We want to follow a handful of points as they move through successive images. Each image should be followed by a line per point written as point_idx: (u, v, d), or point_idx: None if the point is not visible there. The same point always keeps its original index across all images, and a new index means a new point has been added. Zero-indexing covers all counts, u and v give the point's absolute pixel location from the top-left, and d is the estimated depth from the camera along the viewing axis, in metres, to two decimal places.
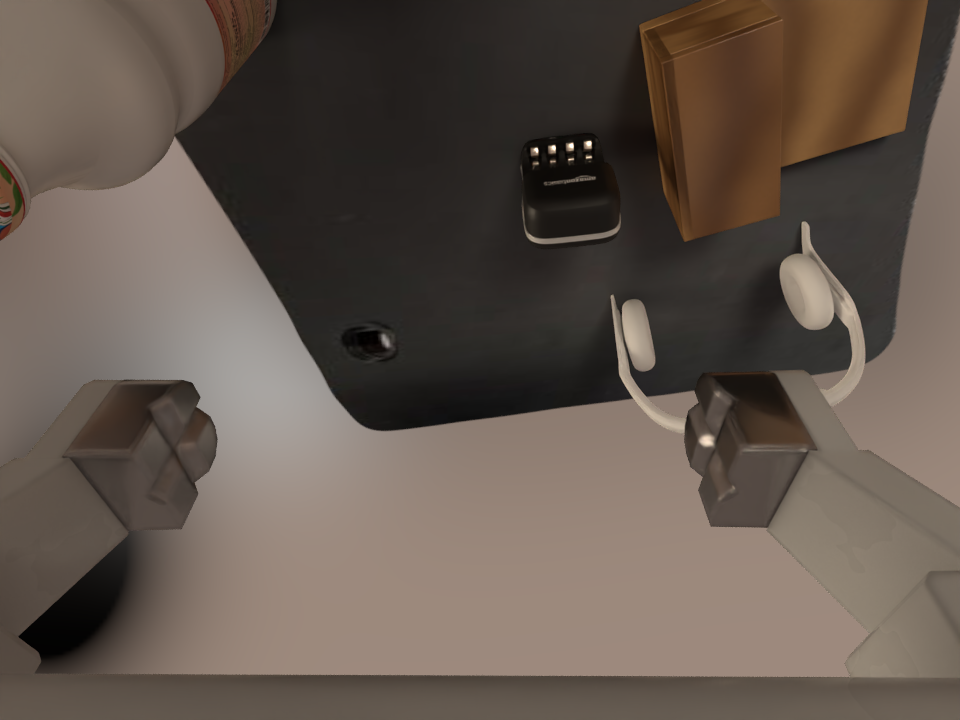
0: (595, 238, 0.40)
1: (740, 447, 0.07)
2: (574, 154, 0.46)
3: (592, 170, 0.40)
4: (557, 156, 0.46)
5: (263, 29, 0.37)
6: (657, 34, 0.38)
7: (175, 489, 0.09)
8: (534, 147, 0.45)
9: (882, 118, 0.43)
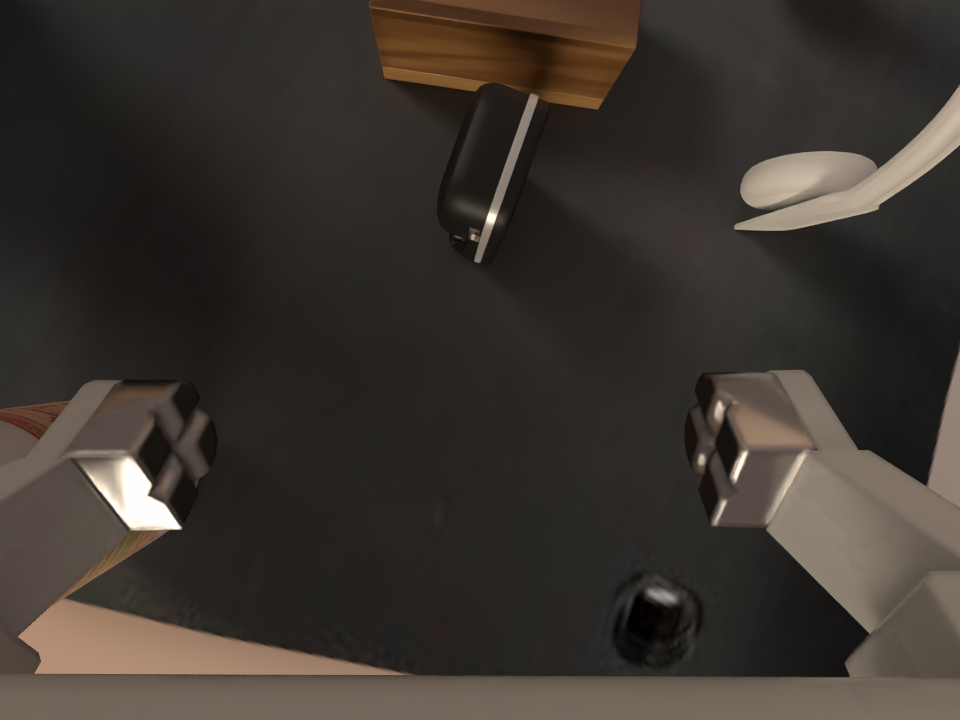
0: (529, 125, 0.25)
1: (739, 446, 0.07)
2: None
3: None
4: None
5: None
6: None
7: (175, 489, 0.09)
8: None
9: None
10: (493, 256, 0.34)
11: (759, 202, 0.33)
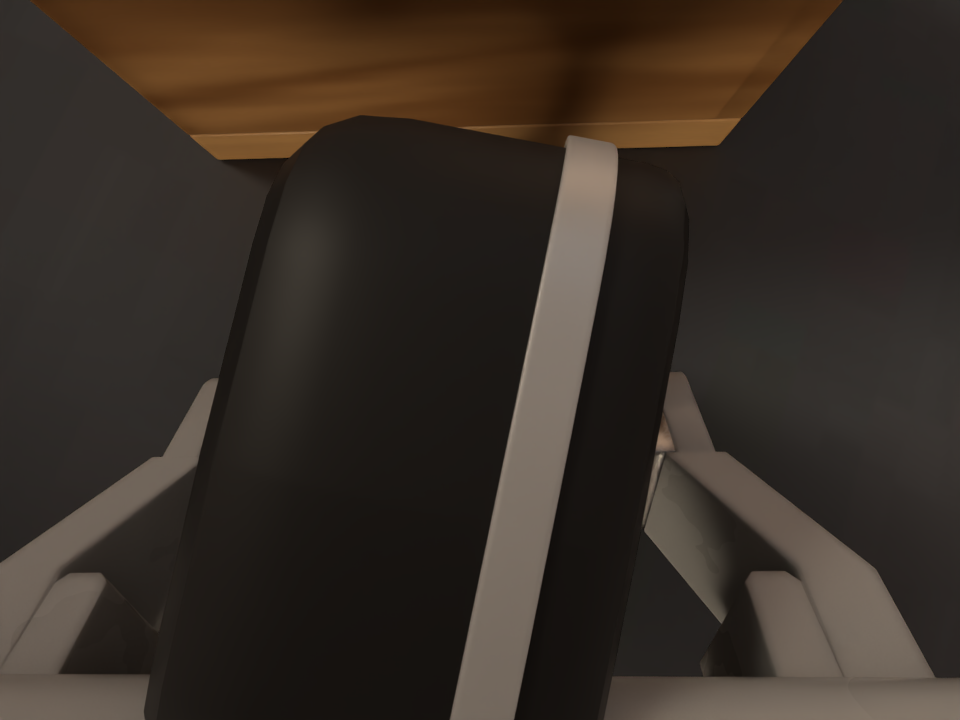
0: (594, 337, 0.04)
1: None
2: None
3: None
4: None
5: None
6: None
7: None
8: None
9: None
10: None
11: None
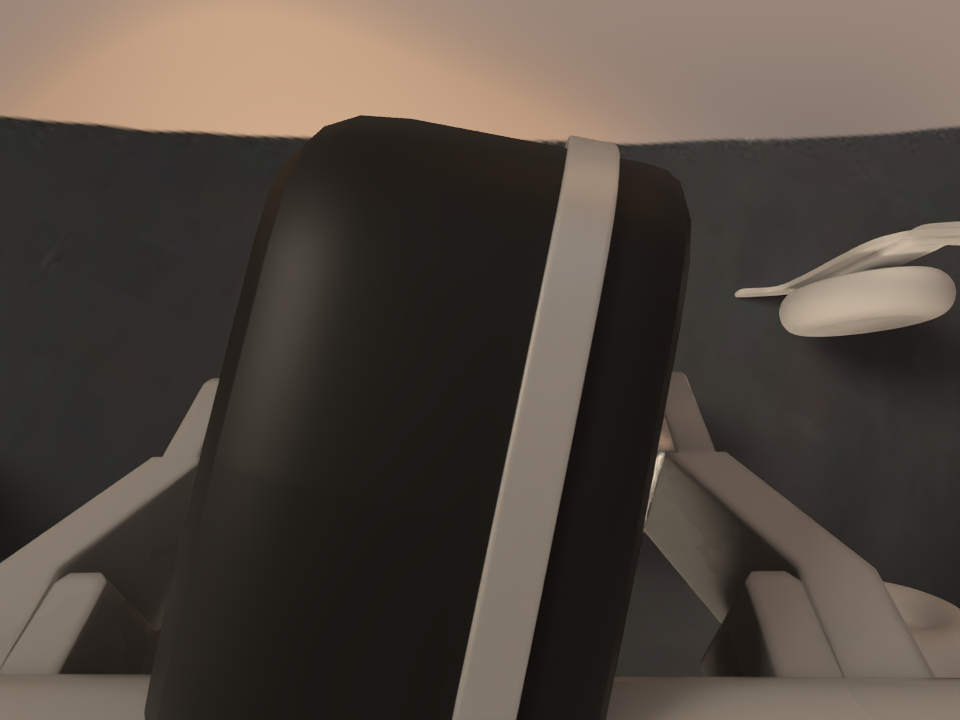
0: (596, 339, 0.04)
1: None
2: None
3: None
4: None
5: None
6: None
7: None
8: None
9: None
10: None
11: None
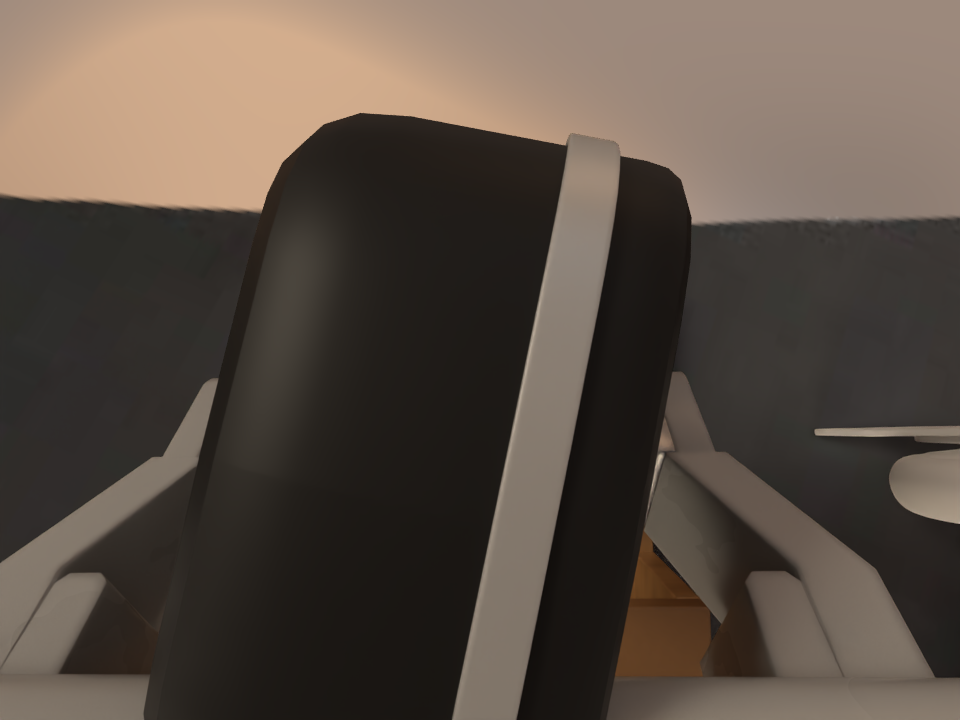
0: (595, 336, 0.04)
1: None
2: None
3: None
4: None
5: None
6: None
7: None
8: None
9: None
10: None
11: None
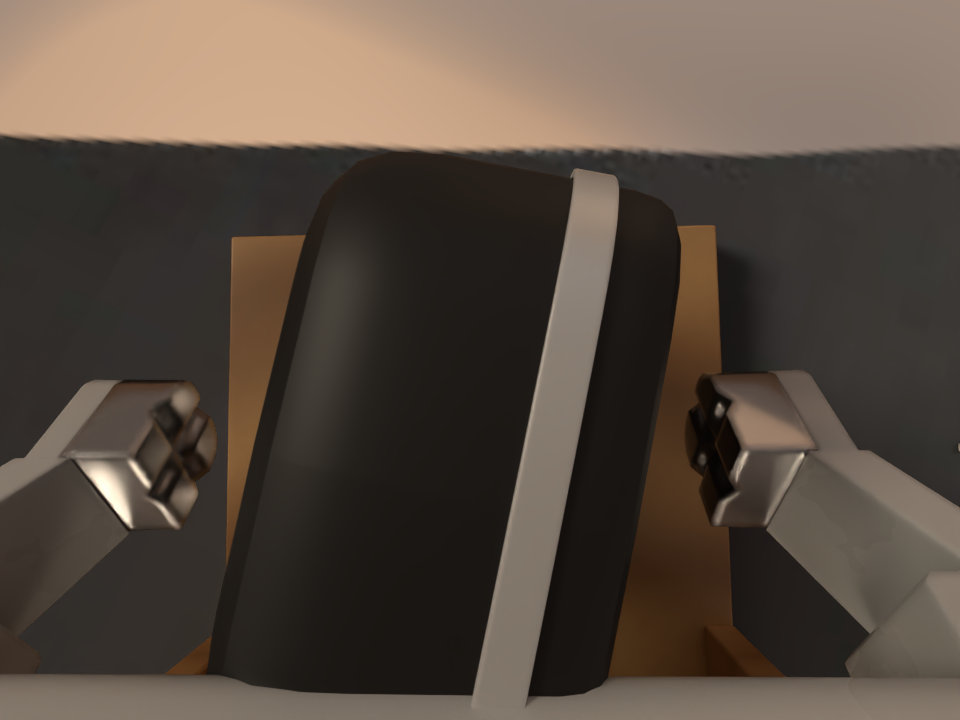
0: (598, 350, 0.05)
1: (740, 446, 0.07)
2: None
3: None
4: None
5: None
6: None
7: (175, 489, 0.09)
8: None
9: None
10: None
11: None
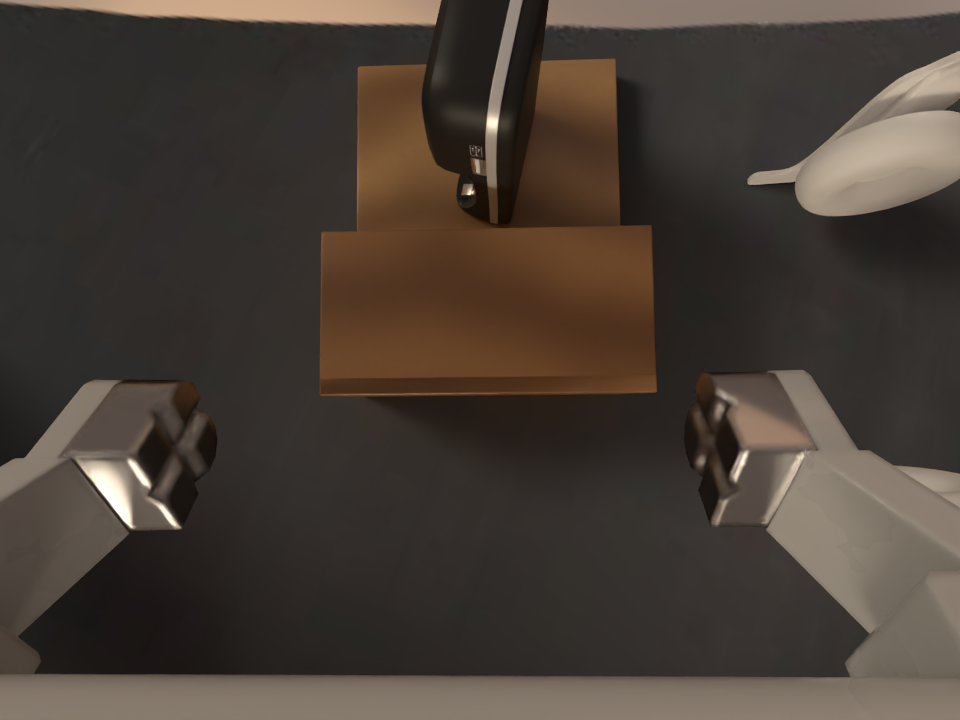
0: None
1: (740, 446, 0.07)
2: None
3: None
4: None
5: None
6: None
7: (175, 489, 0.09)
8: (463, 189, 0.29)
9: (585, 90, 0.30)
10: (511, 206, 0.27)
11: None
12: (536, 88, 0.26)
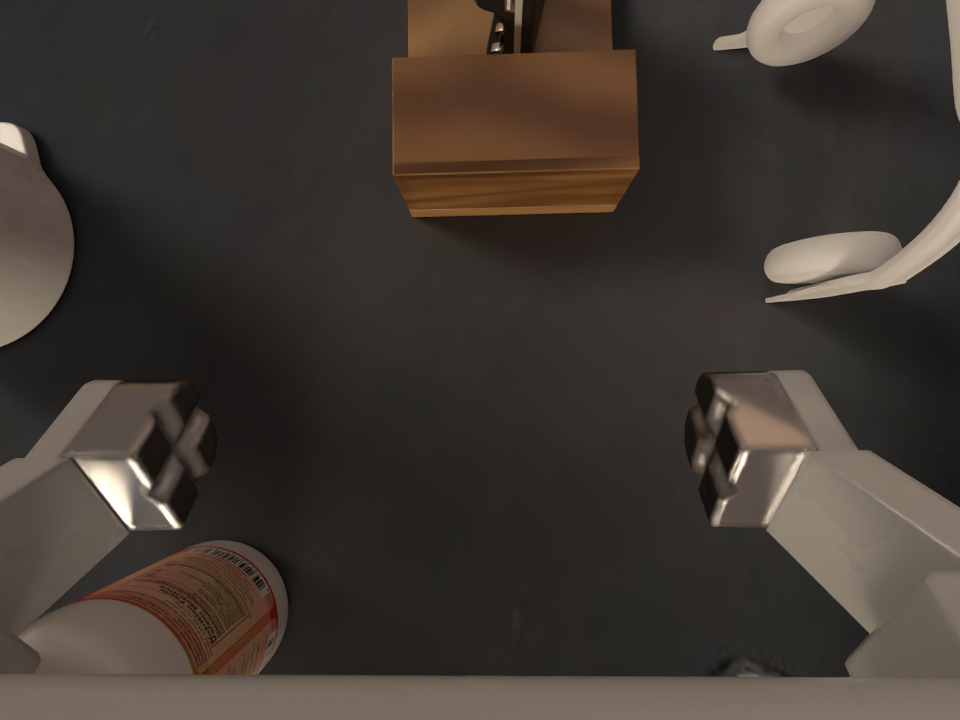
0: None
1: (740, 447, 0.07)
2: None
3: None
4: None
5: (250, 578, 0.34)
6: None
7: (175, 489, 0.09)
8: (492, 47, 0.38)
9: None
10: None
11: (785, 281, 0.34)
12: None
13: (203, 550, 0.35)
